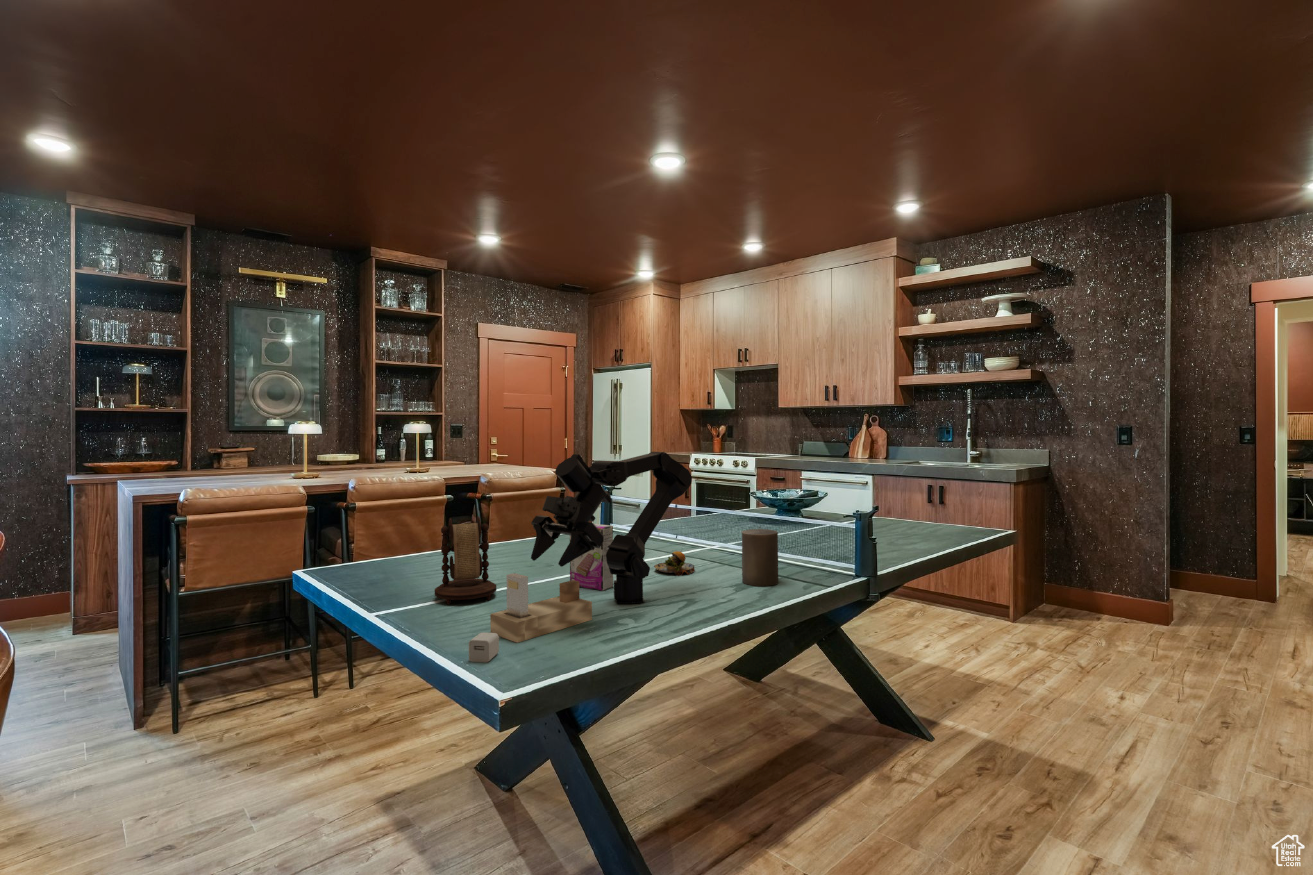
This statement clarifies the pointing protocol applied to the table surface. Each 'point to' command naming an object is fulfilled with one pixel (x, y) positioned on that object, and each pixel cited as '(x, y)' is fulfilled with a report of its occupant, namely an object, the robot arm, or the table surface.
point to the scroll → (465, 563)
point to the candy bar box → (594, 564)
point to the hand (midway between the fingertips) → (545, 562)
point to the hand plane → (544, 615)
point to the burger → (676, 565)
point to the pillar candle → (760, 557)
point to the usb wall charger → (483, 647)
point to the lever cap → (517, 595)
